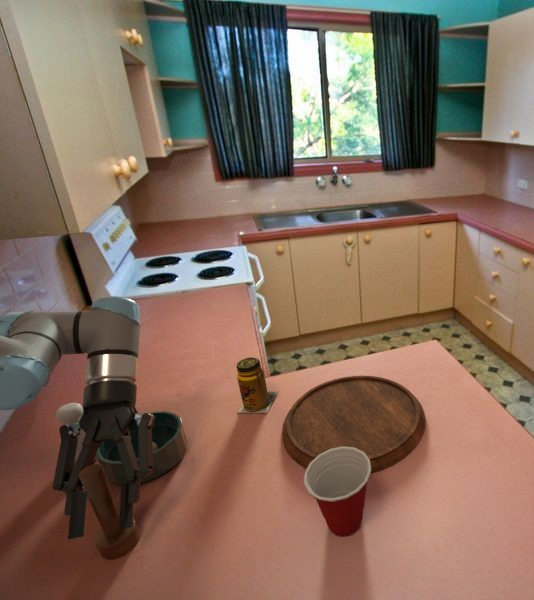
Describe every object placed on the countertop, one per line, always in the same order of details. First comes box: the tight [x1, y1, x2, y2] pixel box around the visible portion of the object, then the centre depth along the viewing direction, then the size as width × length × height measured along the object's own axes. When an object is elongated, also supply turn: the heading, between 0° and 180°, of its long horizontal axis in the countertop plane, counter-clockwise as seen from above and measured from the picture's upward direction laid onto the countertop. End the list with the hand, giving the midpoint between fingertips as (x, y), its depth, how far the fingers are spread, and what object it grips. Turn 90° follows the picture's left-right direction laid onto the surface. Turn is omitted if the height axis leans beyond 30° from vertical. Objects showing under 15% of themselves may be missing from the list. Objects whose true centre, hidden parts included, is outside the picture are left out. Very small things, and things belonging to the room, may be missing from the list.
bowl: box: [96, 410, 189, 486], centre depth 87 cm, size 15×15×6 cm
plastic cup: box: [303, 447, 372, 538], centre depth 70 cm, size 11×11×12 cm
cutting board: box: [281, 375, 426, 475], centre depth 96 cm, size 32×32×2 cm
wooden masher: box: [79, 463, 141, 561], centre depth 67 cm, size 6×6×16 cm
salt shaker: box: [55, 402, 98, 464], centre depth 86 cm, size 6×6×13 cm
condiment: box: [236, 356, 279, 414], centre depth 102 cm, size 7×8×12 cm
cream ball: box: [152, 442, 158, 452], centre depth 87 cm, size 3×3×3 cm
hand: (100, 532), depth 65 cm, fingers open, 6 cm apart
